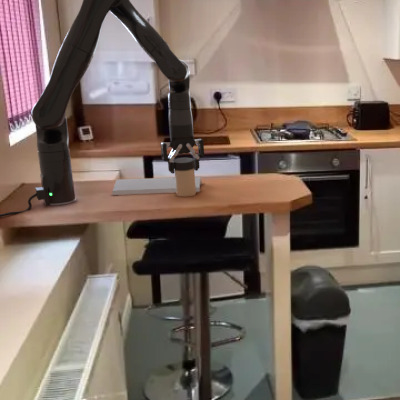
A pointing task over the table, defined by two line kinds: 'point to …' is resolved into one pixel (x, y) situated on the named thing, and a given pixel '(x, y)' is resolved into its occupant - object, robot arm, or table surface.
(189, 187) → the coffee jar
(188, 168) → the jar lid
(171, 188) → the crown molding
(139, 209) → the table surface
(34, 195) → the robot arm
